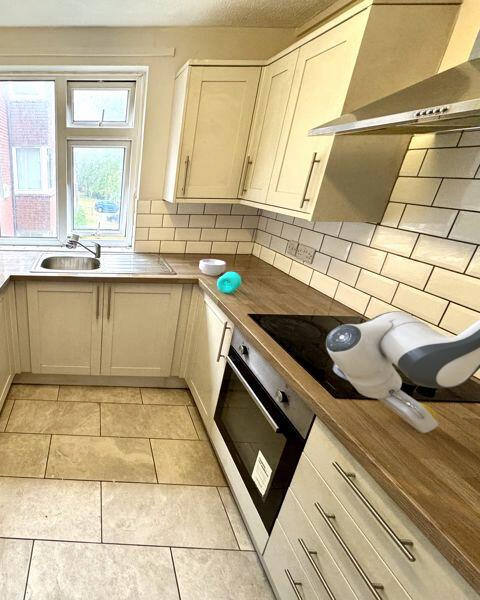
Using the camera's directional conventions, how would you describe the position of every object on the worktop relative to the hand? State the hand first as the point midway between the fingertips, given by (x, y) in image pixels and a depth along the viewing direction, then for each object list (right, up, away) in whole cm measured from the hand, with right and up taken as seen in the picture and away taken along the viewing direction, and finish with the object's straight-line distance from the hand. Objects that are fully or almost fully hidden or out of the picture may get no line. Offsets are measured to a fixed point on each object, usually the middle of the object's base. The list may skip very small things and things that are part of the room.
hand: (398, 411), depth 78 cm
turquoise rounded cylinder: (0, +32, +91) cm, 97 cm away
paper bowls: (+3, +44, +120) cm, 128 cm away
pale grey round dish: (+8, +4, +22) cm, 24 cm away
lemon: (+3, +1, 0) cm, 3 cm away
